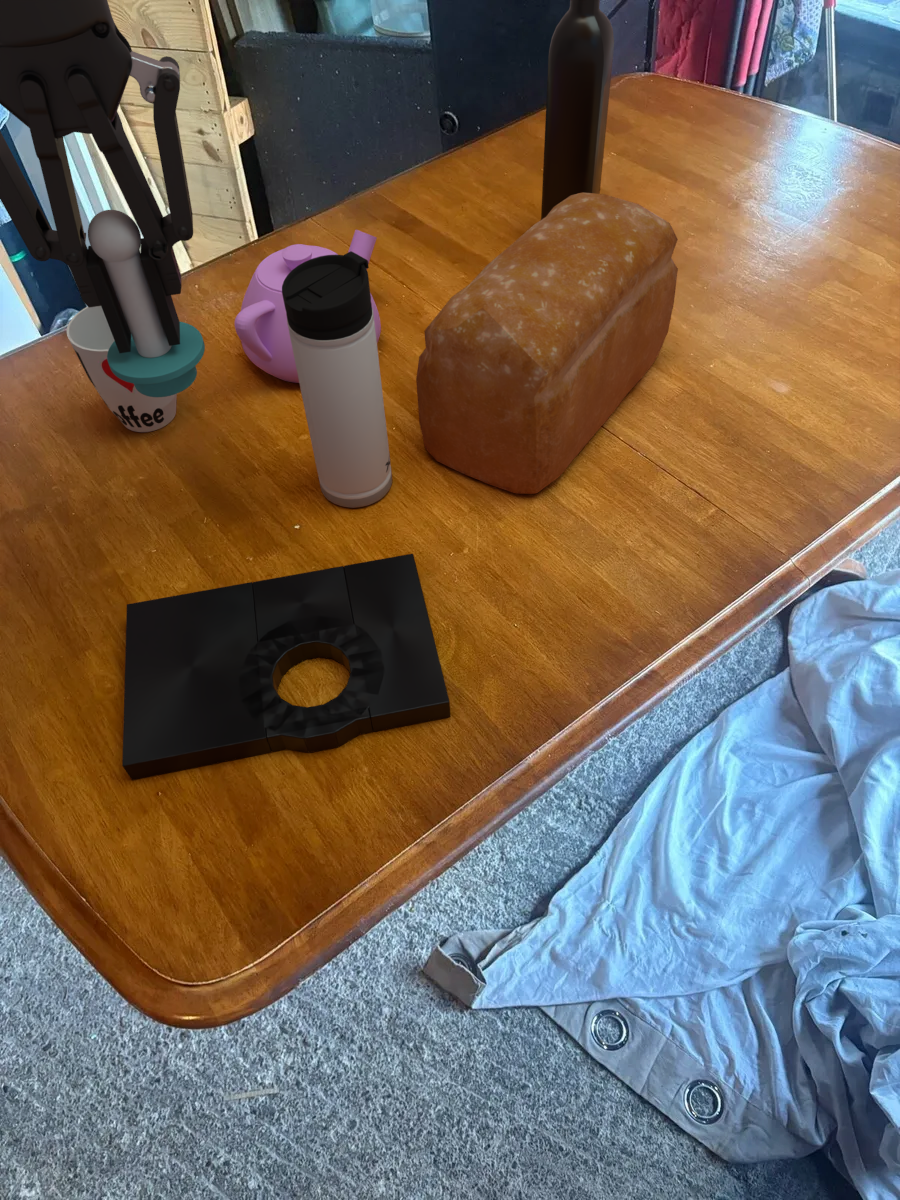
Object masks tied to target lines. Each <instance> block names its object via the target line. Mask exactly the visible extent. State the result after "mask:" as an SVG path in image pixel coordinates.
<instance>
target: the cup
mask: <svg viewBox="0 0 900 1200" xmlns="http://www.w3.org/2000/svg"><path fill="white" fill-rule="evenodd" d="M66 336H67V338H68V341H69V343H70V345H71V347H72V349H73V351H74V352H75V354H76V357H77V359H78V360H79V362H80V365H81V366H82V368H83V370H84V373H85V374H86V376H87V378H88V379H89V381H90V383H91V384H92V386H93V387H94V389H95V390H96V392H97V393H98V395H99V396H100V398H101V399H102V401H103V403H104V404H105V405H106V407H107V408H108V409H109V410H110V411H111V413H112V414H113V415H114V416H115V417H116V418H117V419H118V421H120V422H121V424H122V425H123V426H124V427H125V428H126V429H127V430H129V431H132V432H135V433H149V432H154V431H157V430H160V429H163V428H164V427H166V426H167V425H169V424H170V423H172V421H173V420H174V418H175V417H176V414H177V400H178V399H177V398H178V396H177V395H178V393H177V394H174V395H171V396H167V397H149V396H146V395H143V394H141V393H140V392H138V390H137V389H136V388H135V386H134V383H129V382H126V381H123V380H121V379H120V378H118V377H117V376H115V375H114V373H113V372H112V371H111V369H110V366H109V364H108V361H107V354H108V350H109V348H110V346H111V345H112V343H113V342H114V341H115V340H114V338H113V335H112V333H111V330H110V327H109V325H108V322H107V320H106V317H105V315H104V312H103V309H102V307H101V306H96V307H88V306H85V307H84V308H82V309H81V310H80V311H78V312H77V313H76V314H75V315H74V316H73V317H72V318H71V319H70V321H69V322H68V324H67V327H66Z"/></svg>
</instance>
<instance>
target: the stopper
mask: <svg viewBox="0 0 900 1200" xmlns="http://www.w3.org/2000/svg"><path fill="white" fill-rule="evenodd" d="M141 238H142V233H141V231H140V229H139V227H138V225H137V223H136V221H135V219H134V220H133V218H132V217H131V216H129V215H128V214H126V213H125V212H123V211H120V210H116V209H105V210H102V211H100V212H98V213H96V214H95V215H94V216H93V217H92V219H91V220H90V222H89V224H88V228H87V239H88V242H89V246H91V247H92V249H93V250H94V252H95V253H96V254H97V255H98V256H99V257H100V258H102V259H103V261H104V264H105V267H106V269H107V272H108V274H109V277H110V280H111V282H112V285H113V287H114V290H115V293H116V295H117V298H118V301H119V303H120V306H121V308H122V311H123V314H124V316H125V319H126V321H127V324H128V327H129V329H130V332H131V352H126V353H119V351H118V348H117V345H116V343H115V341H114V342H113V343H112V345H111V346H110V348H109V350H108V354H107V361H108V364H109V366H110V369H111V371H112V372H113V373H114V375H115V376H117V377H118V378H120V379H121V380H123V381H126V382H129V383H134V386H135V388H136V389H137V390H138V392H140V393H141V394H143V395H146V396H149V397H167V396H171V395H174V394H177V395H178V394H179V393H182V392H183V391H185V390H187V389H188V388H190V387H191V386H192V384H193V383H194V382H195V380H196V379H197V375H198V369H197V365H198V364H199V363H200V362H201V360H202V359H203V356H204V354H205V350H206V345H205V341H204V338H203V335H202V333H201V332H200V330H199V329H197V328H196V327H195V326H193V325H192V324H190V323H186V322H185V321H181V320H179V322H180V344H178V345H172V346H169V343H168V340H167V337H166V334H165V331H164V328H163V325H162V322H161V319H160V316H159V313H158V310H157V307H156V304H155V301H154V298H153V296H152V293H151V290H150V287H149V284H148V281H147V278H146V275H145V272H144V269H143V266H142V263H141Z"/></svg>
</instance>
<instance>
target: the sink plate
mask: <svg viewBox="0 0 900 1200" xmlns="http://www.w3.org/2000/svg"><path fill="white" fill-rule="evenodd" d="M416 563H417V562H416V559H415V556H414V553H408V554H402V555H396V556H391V557H385V558H380V559H374V560H369V561H363V562H357V563H352V564H345V565H342V566H341V565H340V566H335V567H329V568H323V569H317V570H313V571H308V572H301V573H296V574H290V575H285V576H279V577H274V578H273V577H272V578H267V579H262V580H261V579H260V580H255V581H250V582H244V583H239V584H233V585H228V586H222V587H215V588H210V589H205V590H199V591H193V592H188V593H182V594H177V595H171V596H166V597H165V596H164V597H160V598H159V597H158V598H155V599H149V600H144V601H137V602H132V603H127V604H126V619H125V620H126V622H125V623H126V624H125V653H124V654H125V656H124V659H125V660H124V687H123V688H124V693H123V695H124V696H123V725H122V726H123V727H122V728H123V730H122V761H121V763H122V765H121V766H122V768H123V769H124V771H125V772H126V774H127V776H128V777H129V778H130V780H131V781H135V780H139V779H145V778H150V777H154V776H159V775H164V774H165V775H166V774H169V773H175V772H179V771H184V770H190V769H196V768H200V767H205V766H210V765H211V766H212V765H215V764H220V763H225V762H231V761H234V760H235V761H236V760H240V759H245V758H250V757H256V756H261V755H265V754H271V753H273V752H275V753H276V752H279V751H283V750H284V751H285V750H288V751H294V752H300V753H311V754H312V753H315V752H316V753H317V752H321V751H326V750H331V749H335V748H336V749H337V748H339V747H341V746H343V745H345V744H347V743H348V742H349V741H351V740H353V739H355V738H356V737H358V736H361V735H366V734H369V733H370V734H371V733H373V732H374V733H377V732H380V731H386V730H391V729H396V728H401V727H407V726H412V725H417V724H421V723H427V722H432V721H436V720H437V721H438V720H442V719H447V718H451V702H450V698H449V693H448V689H447V685H446V682H445V678H444V673H443V670H442V669H443V668H442V664H441V662H440V656H439V653H438V649H437V648H438V647H437V644H436V641H435V637H434V632H433V629H432V624H431V620H430V616H429V612H428V608H427V604H426V600H425V595H424V593H423V587H422V584H421V580H420V575H419V572H418V567H417V564H416ZM317 658H321V659H329V660H334V661H335V662H337V663H339V664H341V665H343V666H344V667H345V668H346V670H347V671H348V673H349V677H348V679H347V682H346V686H345V687H344V688H343V689H342V690H341V692H340V693H338V695H337V696H336V697H334V698H332V699H330V700H329V701H327V702H325V703H322V704H318V705H312V706H301V705H296V704H292V703H290V702H288V701H287V700H285V699H283V698H281V696H280V694H279V690H278V689H279V687H280V684H281V682H282V678H283V677H284V676H285V675H286V674H287V673H288V671H290V669H292V668H293V667H295V666H296V665H299V664H301V663H302V662H304V661H307V660H312V659H317Z"/></svg>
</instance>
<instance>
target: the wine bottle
mask: <svg viewBox="0 0 900 1200" xmlns="http://www.w3.org/2000/svg"><path fill="white" fill-rule="evenodd" d="M600 4H601V0H570V1H569V9H568V10H567V11H566V12H565V14H564V15H563V16H562V18H561V19H560V20H559V22H558V23H557V25H556V26H555V29H554V31H553V33H552V36H551V40H550V44H549V49H548V59H547V80H546V81H547V83H546V99H545V100H546V101H545V102H546V104H545V120H544V121H545V122H544V123H545V124H544V125H545V126H544V143H543V145H544V146H543V163H542V165H543V166H542V185H541V186H542V190H541V207H540V208H541V209H540V211H541V212H540V220H542V219H543V218H545V217H546V216H547V215H548V214H549V212H550V211H551V210H552V209H553V207H554V206H556V205H557V204H559V203H560V202H562V201H563V200H565V199H566V198H568V197H569V196H571V195H574V194H578V193H595V194H601V185H602V173H603V166H604V165H603V164H604V154H605V153H604V152H605V144H606V134H607V124H608V112H609V102H610V94H611V93H610V92H611V83H612V72H613V62H614V51H615V38H614V37H615V36H614V29H613V26H612V23H611V20H610V19H609V18H608V16H607V15H606V14H605V13H604V11H602V10H601V8H600V6H601V5H600Z"/></svg>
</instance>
